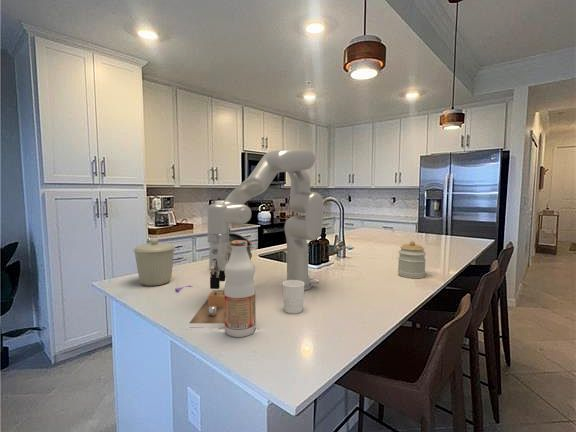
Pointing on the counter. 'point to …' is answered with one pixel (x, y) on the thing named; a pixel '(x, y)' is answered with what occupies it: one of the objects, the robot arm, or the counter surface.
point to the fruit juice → (239, 292)
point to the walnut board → (203, 315)
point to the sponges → (181, 288)
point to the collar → (216, 299)
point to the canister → (154, 262)
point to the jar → (411, 261)
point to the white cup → (293, 296)
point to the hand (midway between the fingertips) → (218, 284)
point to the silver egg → (212, 311)
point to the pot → (233, 238)
